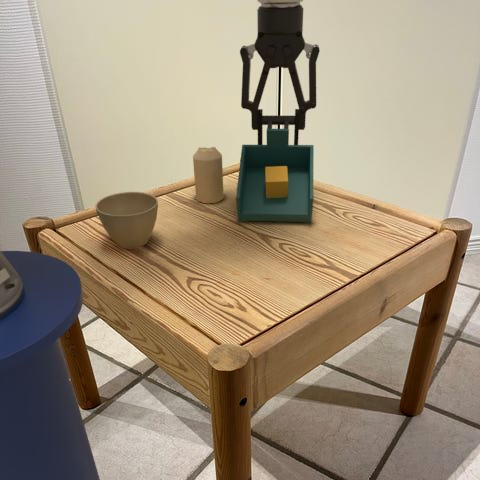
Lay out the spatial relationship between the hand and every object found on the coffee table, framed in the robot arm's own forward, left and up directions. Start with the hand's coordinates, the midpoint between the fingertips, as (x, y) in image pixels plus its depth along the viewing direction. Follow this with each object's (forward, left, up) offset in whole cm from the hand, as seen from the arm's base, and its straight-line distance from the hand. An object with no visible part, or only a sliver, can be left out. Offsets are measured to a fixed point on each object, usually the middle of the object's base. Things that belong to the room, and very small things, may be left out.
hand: (278, 146), depth 97 cm
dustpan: (+3, -4, -6) cm, 8 cm away
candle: (-9, -10, -10) cm, 17 cm away
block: (+4, -5, -6) cm, 9 cm away
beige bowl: (-5, -32, -10) cm, 34 cm away
